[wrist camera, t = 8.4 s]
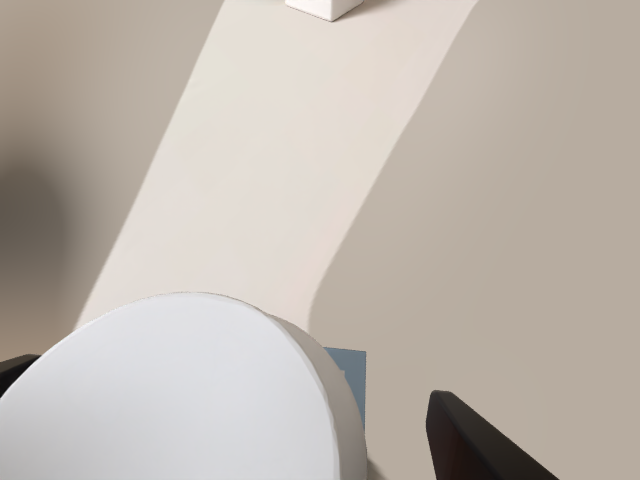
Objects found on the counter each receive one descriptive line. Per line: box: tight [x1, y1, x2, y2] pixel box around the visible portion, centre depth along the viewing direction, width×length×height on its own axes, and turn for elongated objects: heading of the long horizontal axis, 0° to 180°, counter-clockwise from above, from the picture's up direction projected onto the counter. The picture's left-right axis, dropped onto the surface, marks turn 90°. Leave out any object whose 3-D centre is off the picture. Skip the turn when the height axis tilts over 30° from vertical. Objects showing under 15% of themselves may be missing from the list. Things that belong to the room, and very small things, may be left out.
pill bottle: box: [0, 292, 367, 480], centre depth 8 cm, size 6×6×11 cm
